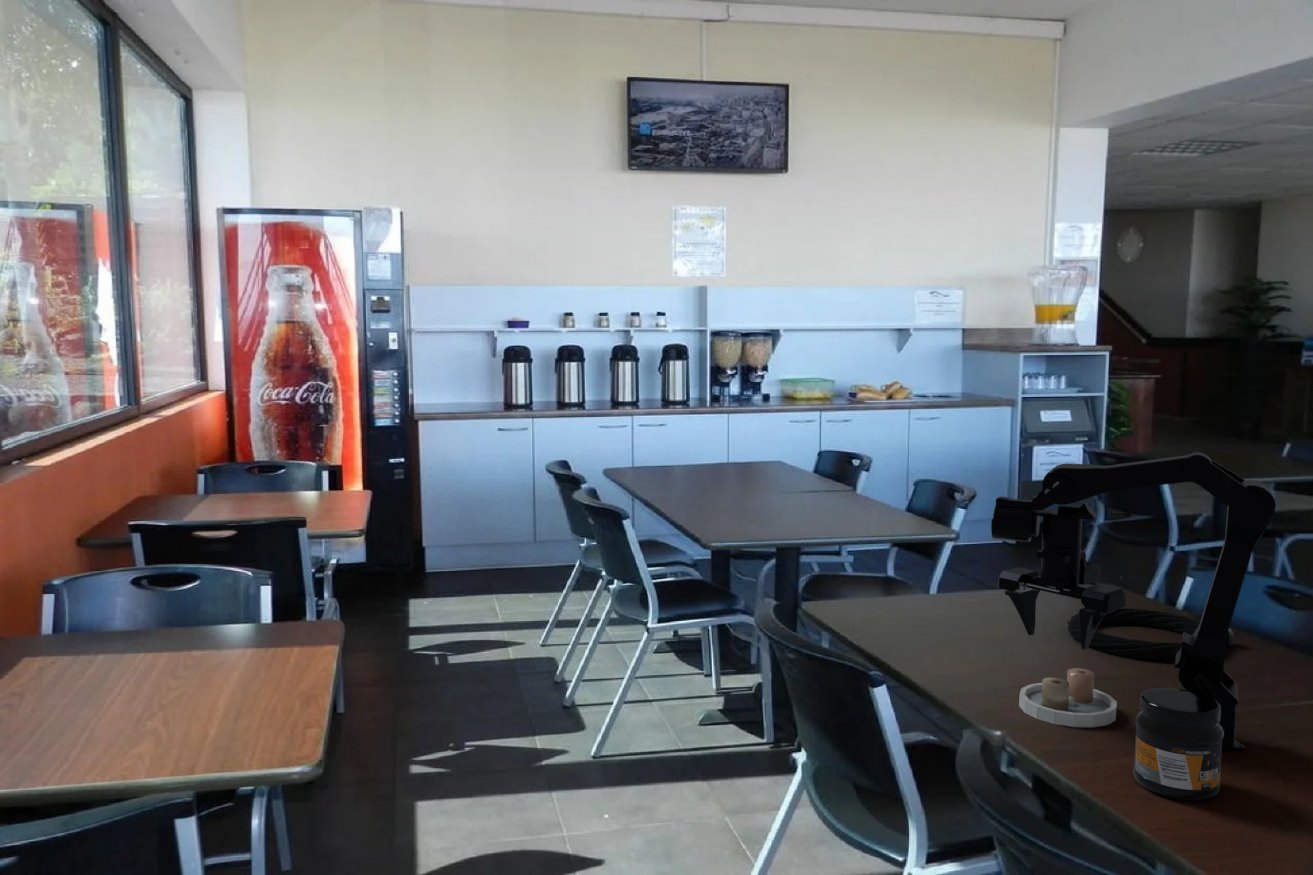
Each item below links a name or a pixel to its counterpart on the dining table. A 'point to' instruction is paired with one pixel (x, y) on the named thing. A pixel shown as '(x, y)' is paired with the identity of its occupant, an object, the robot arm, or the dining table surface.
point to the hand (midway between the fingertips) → (1057, 641)
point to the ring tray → (1069, 709)
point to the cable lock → (1140, 647)
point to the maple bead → (1055, 694)
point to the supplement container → (1178, 744)
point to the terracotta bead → (1081, 685)
